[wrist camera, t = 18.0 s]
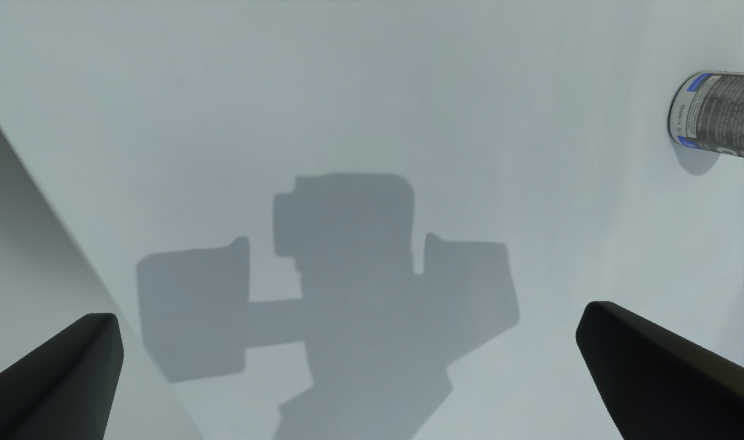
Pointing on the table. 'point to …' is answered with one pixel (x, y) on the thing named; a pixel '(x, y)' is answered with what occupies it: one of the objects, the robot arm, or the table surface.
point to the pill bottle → (710, 113)
